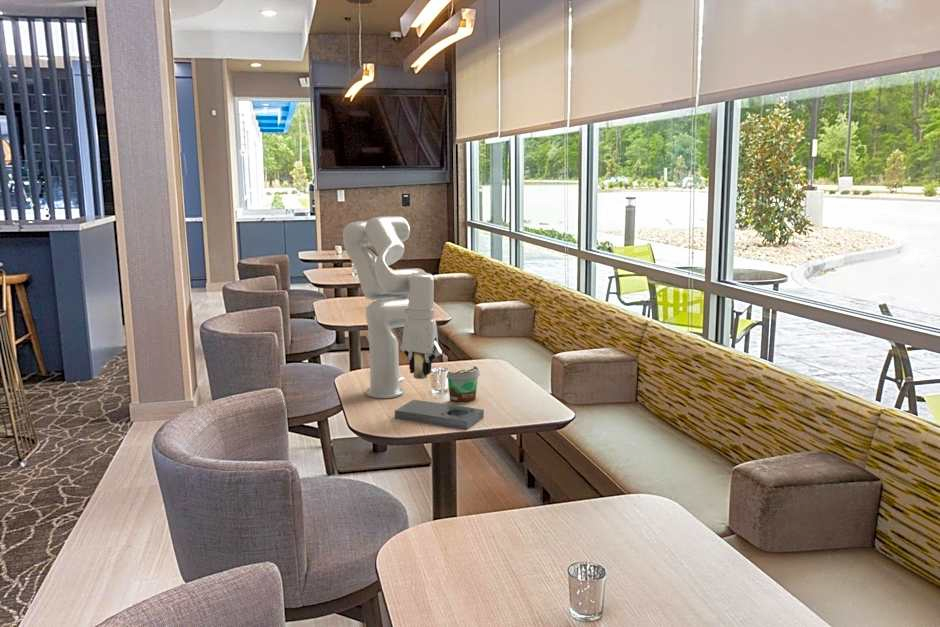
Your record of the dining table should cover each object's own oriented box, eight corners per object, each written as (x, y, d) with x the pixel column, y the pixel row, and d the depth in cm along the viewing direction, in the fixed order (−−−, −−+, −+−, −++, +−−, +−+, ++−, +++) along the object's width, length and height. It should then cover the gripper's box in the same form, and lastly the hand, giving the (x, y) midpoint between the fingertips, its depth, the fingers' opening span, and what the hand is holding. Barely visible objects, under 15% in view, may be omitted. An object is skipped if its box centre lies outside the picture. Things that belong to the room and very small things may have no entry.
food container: (458, 406, 245) (458, 375, 243) (446, 401, 250) (446, 371, 248) (487, 398, 253) (487, 369, 251) (474, 394, 258) (475, 365, 256)
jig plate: (413, 407, 244) (413, 399, 243) (483, 417, 234) (483, 409, 234) (394, 418, 233) (394, 410, 233) (467, 429, 223) (467, 421, 223)
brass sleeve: (417, 374, 237) (417, 348, 235) (429, 376, 235) (429, 350, 234) (411, 377, 233) (411, 351, 232) (422, 379, 232) (423, 353, 230)
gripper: (390, 313, 230) (390, 372, 234) (440, 320, 224) (439, 380, 228) (402, 309, 237) (402, 366, 241) (451, 315, 230) (450, 374, 234)
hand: (420, 372), depth 234 cm, fingers closed on brass sleeve, 4 cm apart
